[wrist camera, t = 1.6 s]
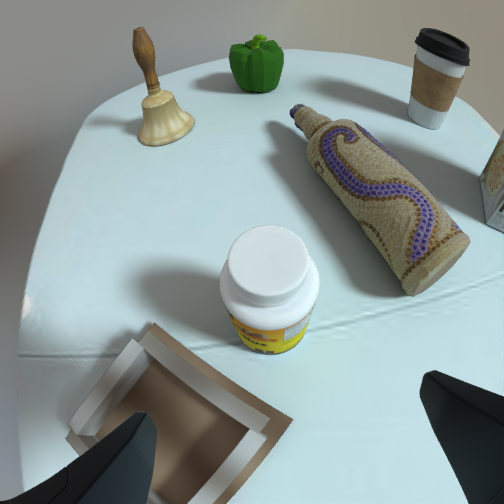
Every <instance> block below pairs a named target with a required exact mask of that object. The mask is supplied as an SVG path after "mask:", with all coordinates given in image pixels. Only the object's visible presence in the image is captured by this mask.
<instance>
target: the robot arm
mask: <svg viewBox="0 0 504 504" xmlns="http://www.w3.org/2000/svg"><path fill="white" fill-rule="evenodd" d="M420 398H421V401H422V403H423V406H424V408H425V411H426V413H427V416H428V418H429V421H430V424H431V426H432V429H433V431H434V433H435V435H436V437H437V439H438V441H439V443H440V445H441V447H442V449H443V451H444V452H445V454H446V456H447V458H448V460H449V462H450V464H451V467H452V469H453V471H454V473H455V475H456V477H457V479H458V481H459V483H460V485H461V487H462V490H463V492H464V494H465V496H466V498H467V501H468V503H469V504H504V396H501V395H498V394H496V393H493V392H490V391H488V390H485V389H482V388H480V387H477V386H474V385H472V384H469V383H467V382H464V381H462V380H459V379H456V378H454V377H451V376H449V375H446V374H444V373H441V372H439V371H436V370H433V371H430V372H427V373H425V374H424V376H423V379H422V384H421V388H420ZM156 442H157V429H156V426H155V424H154V422H153V420H152V418H151V416H150V414H149V413H148V412H139V411H138V412H135V413H134V414H133V415H131V416H130V417H129V418H128V419H126V420H125V421H124V422H123V423H122V424H120V425H119V426H118V427H117V428H115V429H114V430H113V431H111V432H110V433H109V434H108V435H106V436H105V437H104V438H103V439H101V440H100V441H99V442H97V443H96V444H95V445H94V446H92V447H91V448H90V449H88V450H87V451H86V452H85V453H83V454H82V455H81V456H79V457H78V458H77V459H75V460H74V461H73V462H71V463H70V464H69V465H67V467H64V468H63V469H62V470H60V471H59V472H58V473H56V474H55V475H53V476H52V477H50V478H49V479H47V480H46V481H44V482H42V483H41V484H39V485H37V486H35V487H33V488H32V489H30V490H28V491H26V492H24V493H22V494H20V495H18V496H17V497H15V498H12V499H10V500H6V501H0V504H147V499H148V495H149V490H150V486H151V481H152V476H153V471H154V462H155V452H156Z"/></svg>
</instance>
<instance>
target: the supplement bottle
mask: <svg viewBox="0 0 504 504" xmlns="http://www.w3.org/2000/svg"><path fill="white" fill-rule="evenodd" d="M319 283H320V281H319V274H318V270H317V267H316V264H315V263H314V261H313V259H312V258H311V256H310V255H309V254H308V251H307V248H306V246H305V244H304V243H303V241H302V240H301V239H300V238H299V237H298V236H297V235H296V234H295V233H293V232H292V231H290V230H288V229H286V228H283V227H279V226H273V225H266V226H258V227H255V228H252V229H250V230H248V231H246V232H244V233H243V234H241V235H240V236H239V237H238V238H237V239H236V240H235V241H234V243H233V244H232V246H231V248H230V250H229V254H228V259H227V260H226V262H225V264H224V266H223V268H222V271H221V275H220V292H221V296H222V299H223V302H224V304H225V307H226V309H227V311H228V313H229V316H230V318H231V320H232V323H233V325H234V327H235V329H236V332H237V334H238V336H239V337H240V339H241V340H242V342H243V343H244V344H245V345H246V346H247V347H248V348H250V349H251V350H253V351H255V352H257V353H260V354H265V355H278V354H282V353H285V352H287V351H289V350H291V349H292V348H294V347H295V346H296V345H297V344H298V343H299V342H300V341H301V339H302V338H303V336H304V334H305V332H306V329H307V326H308V323H309V321H310V317H311V315H312V312H313V309H314V306H315V303H316V300H317V296H318V292H319Z"/></svg>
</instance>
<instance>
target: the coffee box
mask: <svg viewBox="0 0 504 504" xmlns="http://www.w3.org/2000/svg"><path fill="white" fill-rule="evenodd" d="M479 178H480V184H481V190H482V196H483V203H484V211H485V219H486V224H487V225H489V226H491V227H493V228H496V229H498V230H500V231H502V232H504V130H503V132H502V135H501V137H500V139H499V141H498V143H497V145H496V147H495V149H494V151H493V153H492V155H491V157H490V158H489V160H488V162H487V164H486V166H485V168H484V170H483V172H482V173H481V175H480V177H479Z"/></svg>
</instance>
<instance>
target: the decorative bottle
mask: <svg viewBox="0 0 504 504" xmlns="http://www.w3.org/2000/svg"><path fill="white" fill-rule="evenodd" d="M290 116H291V117H292V118H293V119H294V120H295V125H296V127H297V128H299V129H300V130H301V131H303V133H304V135H305V137H306V138H307V140H308V141H309V144H308V148H307V158H308V162H309V164H310V165H311V166H312V168H313V169H314V170H315V171H316V172H317V173H318V175H319V176H321V178H322V179H323V180H324V181H325V182H326V183H327V184H328V186H329V187H330V188H331V189H332V190H333V192H334V193H335V194H336V195H337V196H338V198H339V199H340V200H341V201H342V203H343V204H344V205H345V207H346V208H347V209H348V210H349V212H350V213H351V214H352V215H353V217H354V218H355V219H356V220H357V221H358V223H359V224H360V226H361V227H362V229H363V230H364V232H365V233H366V235H367V236H368V238H369V239H370V240H371V241H372V243H373V244H374V246H375V247H376V248H377V249H378V251H379V252H380V253H381V254H382V256H383V257H384V259H385V260H386V262H387V263H388V264H389V266H390V267H391V268H392V270H393V272H394V273H395V274H396V275H397V277H398V279H399V280H400V281H401V283H402V288H403V289H404V290H405V292H406V293H407V295H408V296H413V297H414V296H415V295H417V294H419V293H421V292H423V291H425V290H426V289H427V288H429V287H430V286H431V285H433V284H434V283H435V282H436V281H438V280H439V279H440V278H441V277H442V276H443V275H444V274H445V273H446V272H447V271H448V270H449V269H450V268H451V267H452V266H453V265H454V264H455V263H456V262H457V260H458V259H459V258H460V257H461V256H462V254H463V253H464V252H465V250H466V249H467V247H468V246H469V244H470V239H469V237H468V235H466V234H465V233H464V232H463V231H462V230H461V229H460V228H459V226H458V225H457V224H456V223H455V222H454V221H453V220H452V219H451V217H450V216H449V214H448V213H447V212H446V211H445V210H444V209H443V207H442V206H441V205H440V204H439V203H438V201H437V200H436V199H435V198H434V197H433V196H432V194H431V193H430V192H429V191H428V190H427V189H426V187H425V186H424V185H423V184H422V183H421V182H420V181H418V180H417V179H416V178H415V177H414V176H413V175H412V174H411V173H410V172H409V171H408V170H407V169H406V167H405V166H404V165H403V164H402V163H401V162H400V161H399V160H398V159H397V158H396V157H395V156H394V155H393V154H392V153H391V152H390V151H388V150H387V149H386V148H385V147H384V146H383V145H381V144H380V143H379V142H378V141H377V140H376V139H375V138H374V137H372V136H371V134H369V132H367V131H366V130H365V129H364V128H362V127H361V126H360V125H358V124H357V123H355V122H354V121H352V120H347V119H340V120H336V121H332V120H331V119H329V118H328V117H327V116H324V115H320V114H318V113H317V112H316V111H314V110H313V109H312V108H310V107H307V106H304V105H303V104H298V105H295V106H294V107H293V108H292V109H291V110H290Z"/></svg>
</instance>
